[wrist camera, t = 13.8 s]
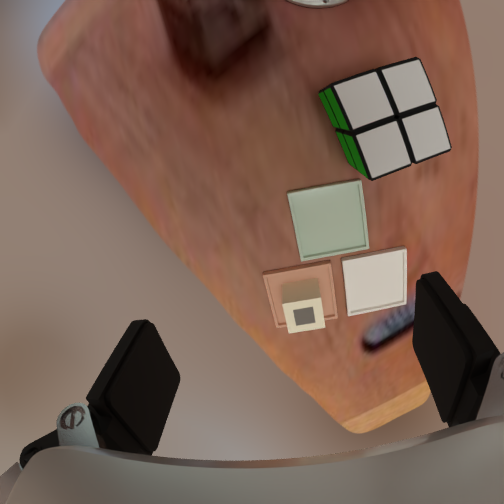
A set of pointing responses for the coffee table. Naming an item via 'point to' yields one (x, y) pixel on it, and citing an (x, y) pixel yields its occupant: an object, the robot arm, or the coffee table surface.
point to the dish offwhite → (375, 280)
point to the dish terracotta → (300, 273)
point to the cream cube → (302, 305)
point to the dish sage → (329, 219)
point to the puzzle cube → (386, 118)
